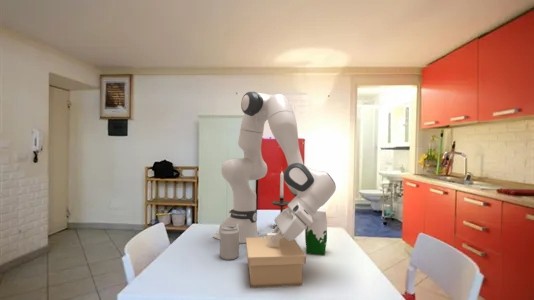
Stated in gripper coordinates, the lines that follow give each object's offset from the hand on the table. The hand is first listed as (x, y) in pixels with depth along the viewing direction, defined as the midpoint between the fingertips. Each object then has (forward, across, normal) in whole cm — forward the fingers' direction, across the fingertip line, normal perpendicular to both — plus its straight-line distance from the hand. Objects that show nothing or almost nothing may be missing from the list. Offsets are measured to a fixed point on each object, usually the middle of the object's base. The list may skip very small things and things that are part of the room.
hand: (271, 240), depth 92 cm
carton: (+8, 0, +9) cm, 12 cm away
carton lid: (+3, 0, +4) cm, 5 cm away
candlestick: (-1, -58, +18) cm, 61 cm away
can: (+19, -17, -2) cm, 25 cm away
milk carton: (-7, -20, +24) cm, 31 cm away
